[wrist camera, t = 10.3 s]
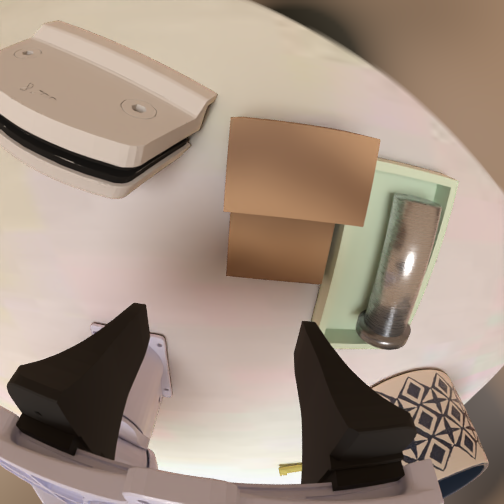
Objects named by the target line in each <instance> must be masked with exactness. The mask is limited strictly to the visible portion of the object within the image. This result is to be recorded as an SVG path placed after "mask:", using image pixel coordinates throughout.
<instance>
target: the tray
mask: <svg viewBox="0 0 504 504" xmlns="http://www.w3.org/2000/svg"><path fill="white" fill-rule="evenodd" d="M458 183H459V181H457V180H455V179H453V178H451V177H448V176H446V175H444V174H442V173H438V172H435V171H431V170H427V169H424V168H420V167H416V166H412V165H408V164H404V163H400V162H395V161H391V160H387V159H382V158H378V157H377V163H376V168H375V174H374V179H373V184H372V189H371V194H370V199H369V204H368V208H367V213H366V217H365V222H364V226H363V227H359V226H351V225H343V224H335V226H334V231H333V236H332V241H331V245H330V250H329V254H328V259H327V263H326V268H325V272H324V276H323V280H322V284H320V288H319V292H318V296H317V300H316V304H315V308H314V312H313V316H312V320H311V322H316V324H317V325H318V327H319V328H320V330H321V331H322V333H323V334H324V336H325V337H326V339H327V340H328V341H329V343H330V344H331V346H332V347H333V348H334V349H380V348H377V347H374V346H372V345H370V344H368V343H366V342H365V341H364V340H362V339H361V338H360V337H359V335H358V334H357V332H356V323H357V319H358V316H359V314H360V313H361V312H362V311H364V310H366V309H367V307H368V304H369V300H370V297H371V293H372V290H373V286H374V282H375V279H376V275H377V271H378V267H379V263H380V259H381V255H382V251H383V246H384V242H385V237H386V233H387V228H388V223H389V219H390V213H391V208H392V203H393V197H394V194H396V193H400V194H408V195H413V196H417V197H420V198H424V199H427V200H430V201H433V202H435V203H437V204H439V205H441V206H442V211H441V216H440V220H439V224H438V228H437V232H436V236H435V240H434V244H433V248H432V252H431V255H430V259H429V262H428V265H427V269H426V272H425V275H424V279H423V282H422V285H421V288H420V291H419V294H418V297H417V299H416V302H415V305H414V308H413V311H412V313H411V316H410V319H409V321H408V324H409V325H410V324H411V322H412V320H413V317H414V315H415V313H416V311H417V308H418V306H419V304H420V301H421V299H422V296H423V294H424V291H425V289H426V286H427V284H428V281H429V279H430V276H431V273H432V271H433V268H434V265H435V262H436V259H437V257H438V254H439V251H440V248H441V245H442V241H443V238H444V235H445V232H446V228H447V225H448V222H449V218H450V215H451V211H452V207H453V203H454V199H455V195H456V191H457V187H458Z"/></svg>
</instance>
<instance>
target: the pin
mask: <svg viewBox="0 0 504 504" xmlns="http://www.w3.org/2000/svg"><path fill="white" fill-rule="evenodd" d="M441 211H442V206H441V205H439V204H437V203H435V202H433V201H430V200H427V199H424V198H420V197H417V196H413V195H408V194H400V193H396V194H394V197H393V203H392V208H391V213H390V219H389V223H388V228H387V233H386V237H385V242H384V246H383V251H382V255H381V259H380V263H379V267H378V271H377V275H376V279H375V282H374V286H373V290H372V293H371V297H370V300H369V304H368V307H367V309H366V310H364V311H362V312H361V313H360V314H359V316H358V319H357V323H356V332H357V334H358V335H359V337H360V338H361V339H362V340H364V341H365V342H366V343H368V344H370V345H372V346H374V347H377V348H380V349H387V350H392V349H398V348H400V347H402V346H404V345H405V343H406V342H407V340H408V337H409V335H410V332H411V329H410V325H409V324H408V321H409V319H410V316H411V313H412V311H413V308H414V305H415V302H416V299H417V297H418V294H419V291H420V288H421V285H422V282H423V279H424V275H425V272H426V269H427V265H428V262H429V259H430V255H431V252H432V248H433V244H434V240H435V236H436V232H437V228H438V224H439V220H440V216H441Z"/></svg>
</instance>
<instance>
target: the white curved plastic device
mask: <svg viewBox="0 0 504 504" xmlns="http://www.w3.org/2000/svg"><path fill="white" fill-rule="evenodd" d="M217 95H218V94H217V93H215V92H213V91H212V90H210V89H208V88H207V87H205V86H203V85H201V84H199V83H198V82H196V81H194V80H192V79H190V78H188V77H187V76H185V75H183V74H181V73H179V72H177V71H175V70H173V69H171V68H170V67H168V66H166V65H164V64H162V63H160V62H158V61H156V60H154V59H151V58H149V57H147V56H145V55H143V54H141V53H139V52H137V51H134V50H132V49H130V48H128V47H126V46H123V45H121V44H119V43H116V42H114V41H112V40H109V39H107V38H105V37H102V36H100V35H97V34H95V33H92V32H89V31H87V30H84V29H82V28H79V27H76V26H73V25H71V24H68V23H65V22H62V21H59V20H58V21H53V22H48V23H44V24H43V25H42V26H41V27H40V28H39V29H38V30H37V31H36V33H35V34H34V35H33V36H32V37H31V38H29V39H26V40H24V41H21V42H18V43H16V44H14V45H11V46H9V47H6V48H4V49H2V50H0V146H1V147H3V148H4V149H5V150H6V151H7V152H8V153H10V154H11V155H12V156H14V157H15V158H17V159H18V160H20V161H21V162H23V163H24V164H26V165H27V166H29V167H31V168H33V169H35V170H36V171H38V172H40V173H42V174H44V175H46V176H48V177H50V178H52V179H55V180H57V181H60V182H62V183H64V184H67V185H69V186H72V187H75V188H78V189H81V190H83V191H86V192H89V193H93V194H96V195H100V196H103V197H107V198H110V199H120V198H124V197H126V196H127V195H128V194H130V193H131V192H132V191H133V190H135V189H136V188H137V187H139V186H140V185H141V184H143V183H144V182H145V181H147V180H148V179H149V178H151V177H152V176H154V175H155V174H156V173H158V172H159V171H160V170H162V169H163V168H165V167H166V166H168V165H169V164H170V163H172V162H173V161H175V160H176V159H178V158H179V157H180V156H181V155H182V154H183V153H184V152H185V151H186V150H187V149H188V148H189V147H190V146H191V144H189V143H188V142H187V141H188V139H187V138H186V137H188V136H190V135H191V134H193V133H195V132H197V131H199V130H200V127H201V124H202V121H203V118H204V115H205V112H206V110H207V107H208V105H210V104H211V103H212V102H214V101H215V99H216V97H217Z"/></svg>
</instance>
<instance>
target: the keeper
mask: <svg viewBox="0 0 504 504" xmlns="http://www.w3.org/2000/svg"><path fill="white" fill-rule="evenodd" d="M379 145H380V139H376V138H372V137H368V136H364V135H360V134H356V133H351V132H347V131H342V130H337V129H332V128H326V127H320V126H314V125H307V124H300V123H293V122H285V121H277V120H268V119H259V118H248V117H231V121H230V133H229V145H228V157H227V169H226V183H225V197H224V211H223V212H231V213H230V227H229V241H228V256H227V271H226V276H233V277H243V278H254V279H264V280H275V281H287V282H298V283H310V284H322V280H323V276H324V272H325V268H326V263H327V259H328V254H329V250H330V245H331V241H332V236H333V231H334V226H335V224H343V225H351V226H359V227H363V226H364V222H365V217H366V213H367V208H368V204H369V199H370V194H371V189H372V184H373V179H374V174H375V168H376V163H377V157H378V151H379Z"/></svg>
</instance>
